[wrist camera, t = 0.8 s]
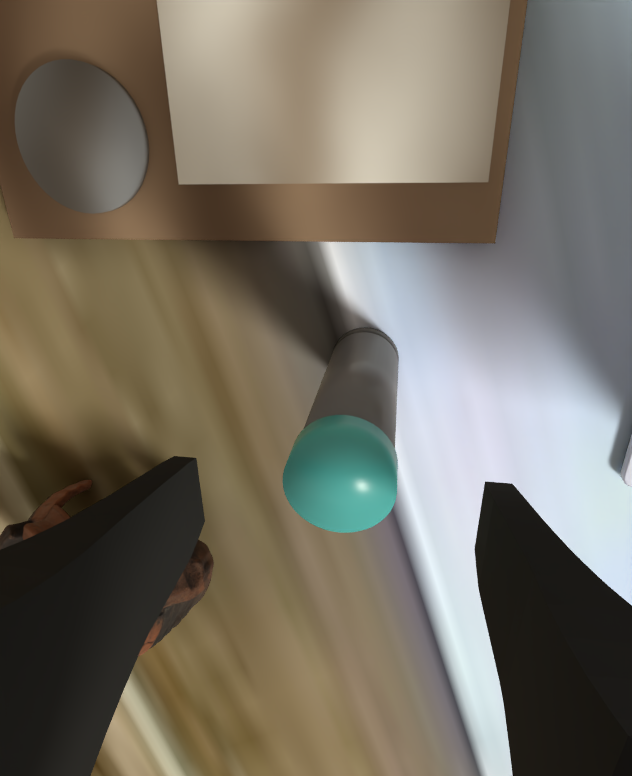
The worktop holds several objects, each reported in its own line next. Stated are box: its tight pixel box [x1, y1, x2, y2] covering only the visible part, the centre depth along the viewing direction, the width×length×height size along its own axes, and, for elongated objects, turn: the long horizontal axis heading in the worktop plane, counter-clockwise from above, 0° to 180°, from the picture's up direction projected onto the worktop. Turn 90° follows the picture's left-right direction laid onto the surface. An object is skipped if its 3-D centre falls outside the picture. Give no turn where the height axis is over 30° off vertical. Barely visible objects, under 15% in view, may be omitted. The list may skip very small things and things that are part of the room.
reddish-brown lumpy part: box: [0, 480, 214, 656], centre depth 25 cm, size 12×10×8 cm
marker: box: [283, 328, 399, 533], centre depth 17 cm, size 3×3×9 cm
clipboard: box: [0, 0, 528, 243], centre depth 16 cm, size 19×14×1 cm
